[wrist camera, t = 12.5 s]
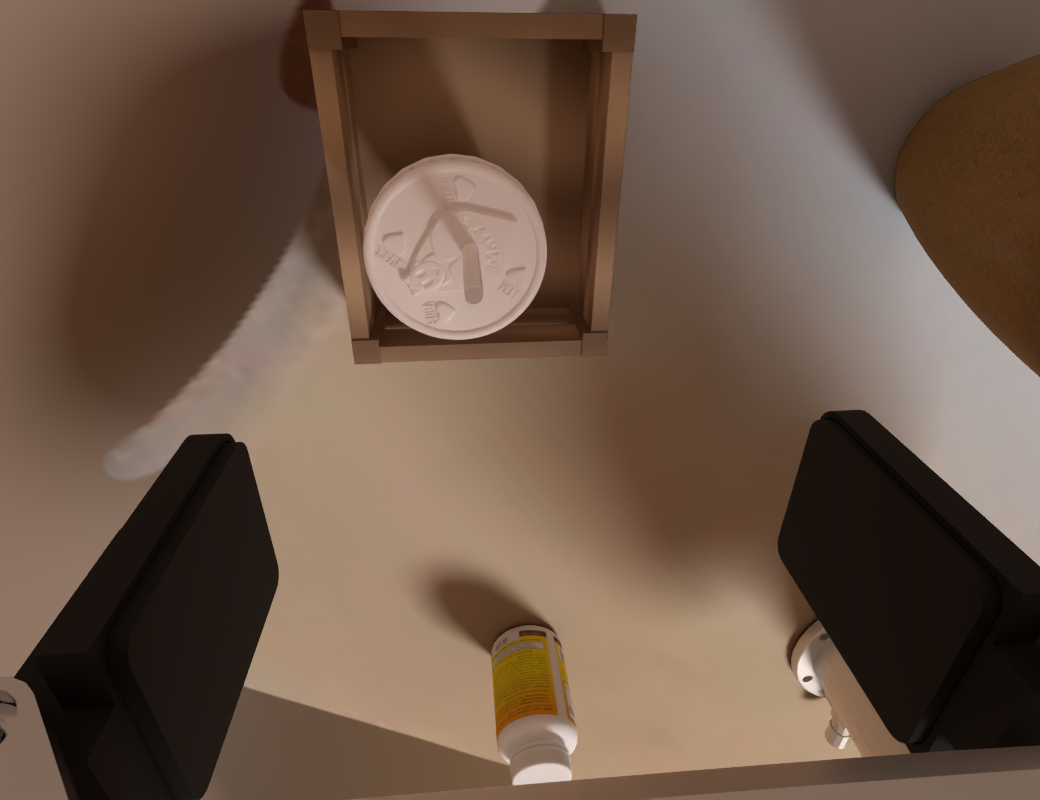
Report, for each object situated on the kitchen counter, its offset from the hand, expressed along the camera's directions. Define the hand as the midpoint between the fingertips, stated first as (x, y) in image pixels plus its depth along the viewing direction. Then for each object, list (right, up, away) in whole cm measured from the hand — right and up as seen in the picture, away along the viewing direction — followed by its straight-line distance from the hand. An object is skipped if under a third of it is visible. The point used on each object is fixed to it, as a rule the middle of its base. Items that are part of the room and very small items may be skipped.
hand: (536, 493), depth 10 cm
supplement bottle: (0, -18, +38) cm, 42 cm away
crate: (-2, +12, +19) cm, 23 cm away
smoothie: (-3, +11, +19) cm, 22 cm away
